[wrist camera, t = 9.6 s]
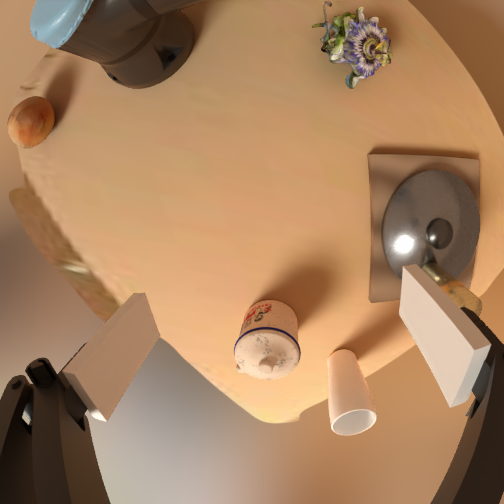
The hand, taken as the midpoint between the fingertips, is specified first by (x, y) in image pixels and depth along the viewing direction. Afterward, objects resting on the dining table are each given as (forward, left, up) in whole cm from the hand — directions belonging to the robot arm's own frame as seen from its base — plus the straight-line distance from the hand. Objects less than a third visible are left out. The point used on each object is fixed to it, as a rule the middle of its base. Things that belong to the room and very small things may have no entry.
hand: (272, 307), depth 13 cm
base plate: (+4, +23, -27) cm, 36 cm away
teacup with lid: (+19, -4, -27) cm, 33 cm away
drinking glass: (+27, +9, -27) cm, 39 cm away
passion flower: (-23, +12, -27) cm, 38 cm away
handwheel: (+4, +23, -25) cm, 34 cm away
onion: (-23, -41, -27) cm, 54 cm away
